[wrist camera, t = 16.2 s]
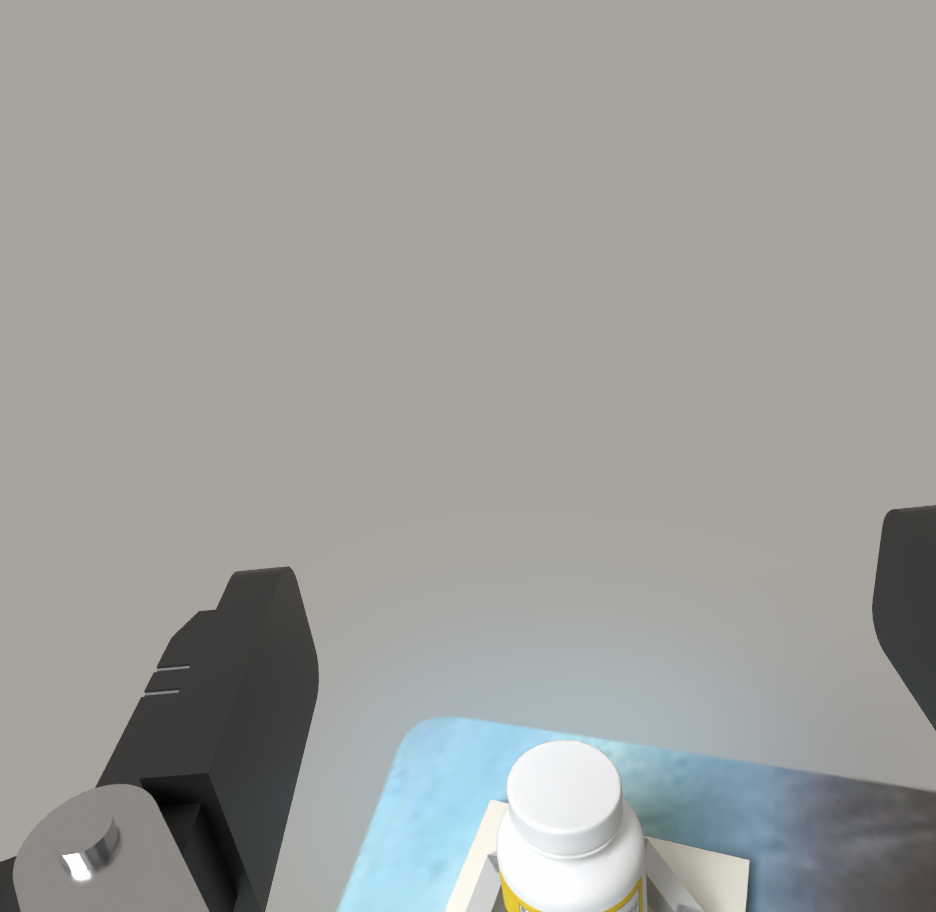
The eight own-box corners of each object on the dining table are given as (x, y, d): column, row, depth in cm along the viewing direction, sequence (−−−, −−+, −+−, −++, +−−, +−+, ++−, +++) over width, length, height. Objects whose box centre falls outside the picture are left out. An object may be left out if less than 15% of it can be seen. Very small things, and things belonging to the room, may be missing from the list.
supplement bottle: (534, 878, 36) (515, 711, 31) (659, 912, 34) (657, 739, 29) (493, 1001, 31) (464, 827, 27) (634, 1049, 29) (628, 869, 25)
